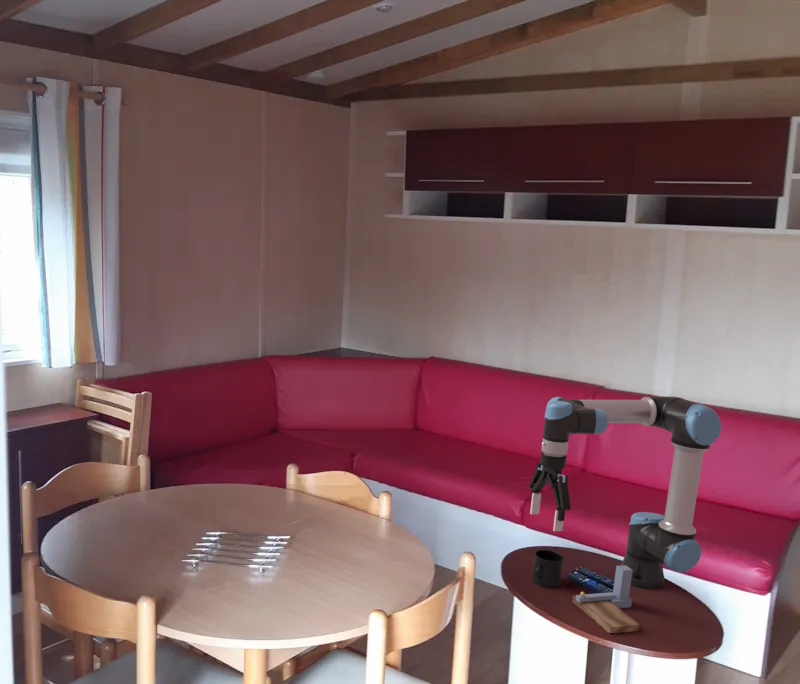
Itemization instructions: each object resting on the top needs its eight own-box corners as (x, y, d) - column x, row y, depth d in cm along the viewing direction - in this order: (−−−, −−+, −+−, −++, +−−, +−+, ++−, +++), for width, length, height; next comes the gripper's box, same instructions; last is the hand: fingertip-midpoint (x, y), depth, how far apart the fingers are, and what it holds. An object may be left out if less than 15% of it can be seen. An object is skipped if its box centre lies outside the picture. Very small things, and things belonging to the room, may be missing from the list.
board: (599, 599, 246) (600, 593, 246) (638, 630, 227) (639, 624, 227) (572, 601, 242) (573, 595, 242) (609, 633, 224) (610, 627, 223)
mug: (522, 582, 253) (525, 556, 252) (541, 572, 262) (544, 547, 261) (547, 592, 247) (550, 566, 246) (565, 582, 256) (568, 556, 255)
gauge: (621, 599, 247) (626, 564, 245) (631, 607, 242) (636, 570, 241) (572, 604, 241) (576, 567, 239) (581, 611, 236) (585, 574, 234)
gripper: (522, 441, 239) (515, 507, 242) (565, 466, 216) (556, 538, 219) (543, 441, 242) (536, 506, 244) (588, 465, 218) (579, 537, 221)
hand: (545, 522), depth 232 cm, fingers open, 13 cm apart
